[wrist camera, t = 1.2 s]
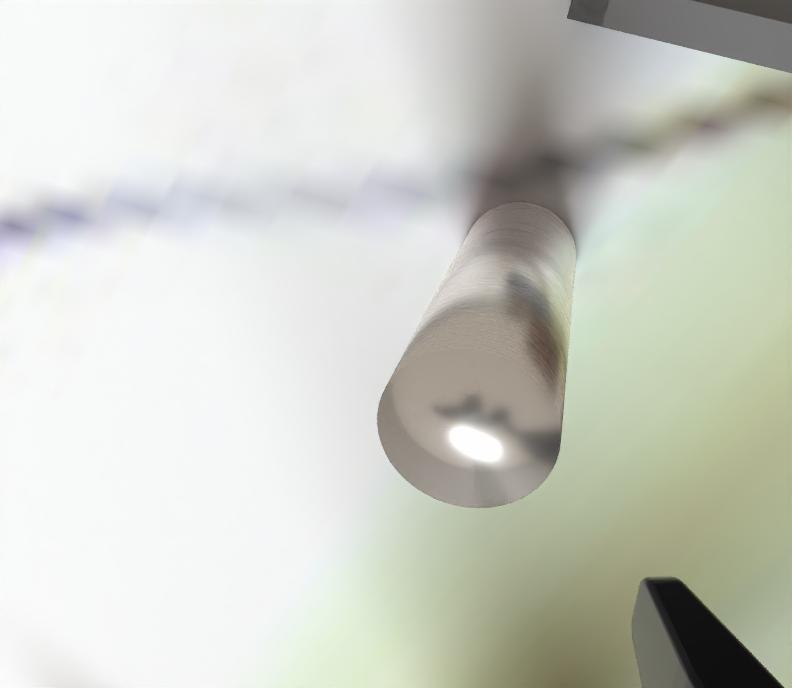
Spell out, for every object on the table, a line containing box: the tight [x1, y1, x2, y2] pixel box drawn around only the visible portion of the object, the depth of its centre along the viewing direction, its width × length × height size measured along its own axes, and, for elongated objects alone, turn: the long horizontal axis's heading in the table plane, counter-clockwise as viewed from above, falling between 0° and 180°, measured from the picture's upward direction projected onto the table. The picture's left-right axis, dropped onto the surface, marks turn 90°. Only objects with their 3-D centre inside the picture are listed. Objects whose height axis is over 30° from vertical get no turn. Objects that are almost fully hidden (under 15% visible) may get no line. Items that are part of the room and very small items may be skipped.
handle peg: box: [377, 202, 576, 508], centre depth 16 cm, size 3×3×9 cm
